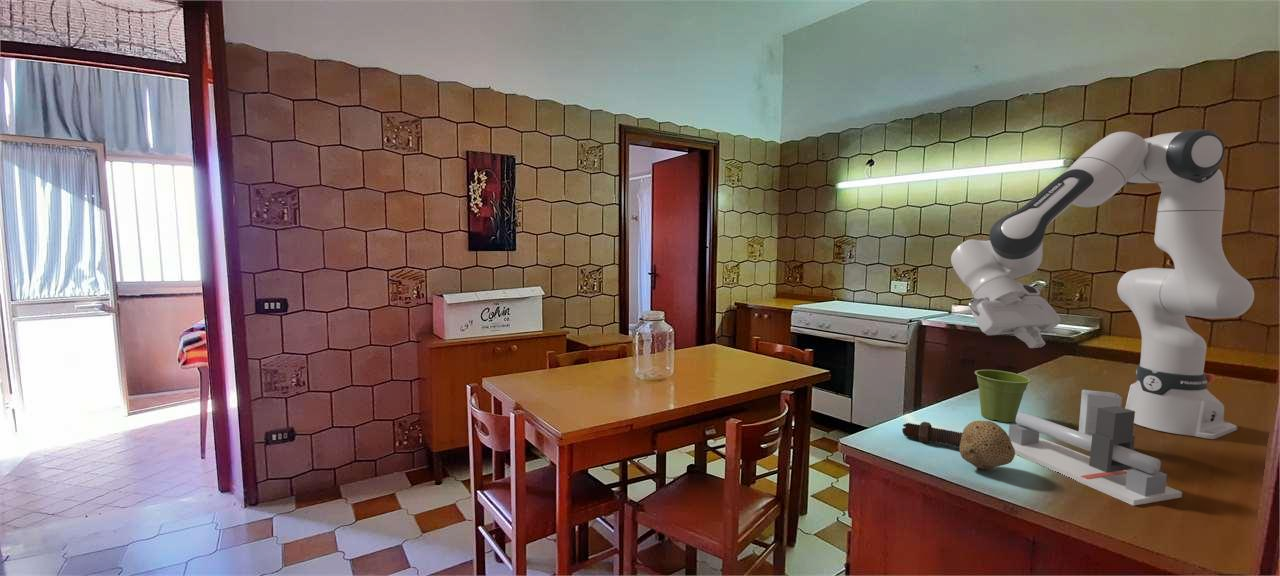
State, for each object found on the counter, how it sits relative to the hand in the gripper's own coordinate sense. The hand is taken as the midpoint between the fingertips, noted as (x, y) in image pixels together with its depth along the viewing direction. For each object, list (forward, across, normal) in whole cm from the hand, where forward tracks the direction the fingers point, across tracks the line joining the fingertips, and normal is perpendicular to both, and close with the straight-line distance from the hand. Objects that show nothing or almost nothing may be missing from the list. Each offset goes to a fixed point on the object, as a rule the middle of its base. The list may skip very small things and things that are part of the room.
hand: (1038, 346), depth 115 cm
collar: (+26, -3, +2) cm, 27 cm away
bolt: (+12, -20, +20) cm, 31 cm away
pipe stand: (+24, -3, +8) cm, 26 cm away
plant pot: (+6, +8, +27) cm, 29 cm away
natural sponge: (+21, -22, +10) cm, 32 cm away
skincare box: (+19, +14, +13) cm, 27 cm away
